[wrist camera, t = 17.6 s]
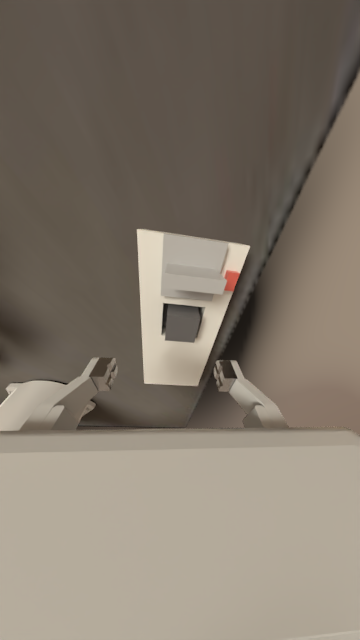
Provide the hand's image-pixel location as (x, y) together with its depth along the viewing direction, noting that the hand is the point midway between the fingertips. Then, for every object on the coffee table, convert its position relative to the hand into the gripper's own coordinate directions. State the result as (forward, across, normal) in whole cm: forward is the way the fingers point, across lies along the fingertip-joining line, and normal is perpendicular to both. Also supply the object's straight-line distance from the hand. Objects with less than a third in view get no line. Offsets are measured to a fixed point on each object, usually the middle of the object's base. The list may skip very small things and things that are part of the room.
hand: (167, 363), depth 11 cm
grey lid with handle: (+8, -2, -5) cm, 10 cm away
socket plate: (+10, -2, +5) cm, 11 cm away
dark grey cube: (+10, -2, +2) cm, 10 cm away
